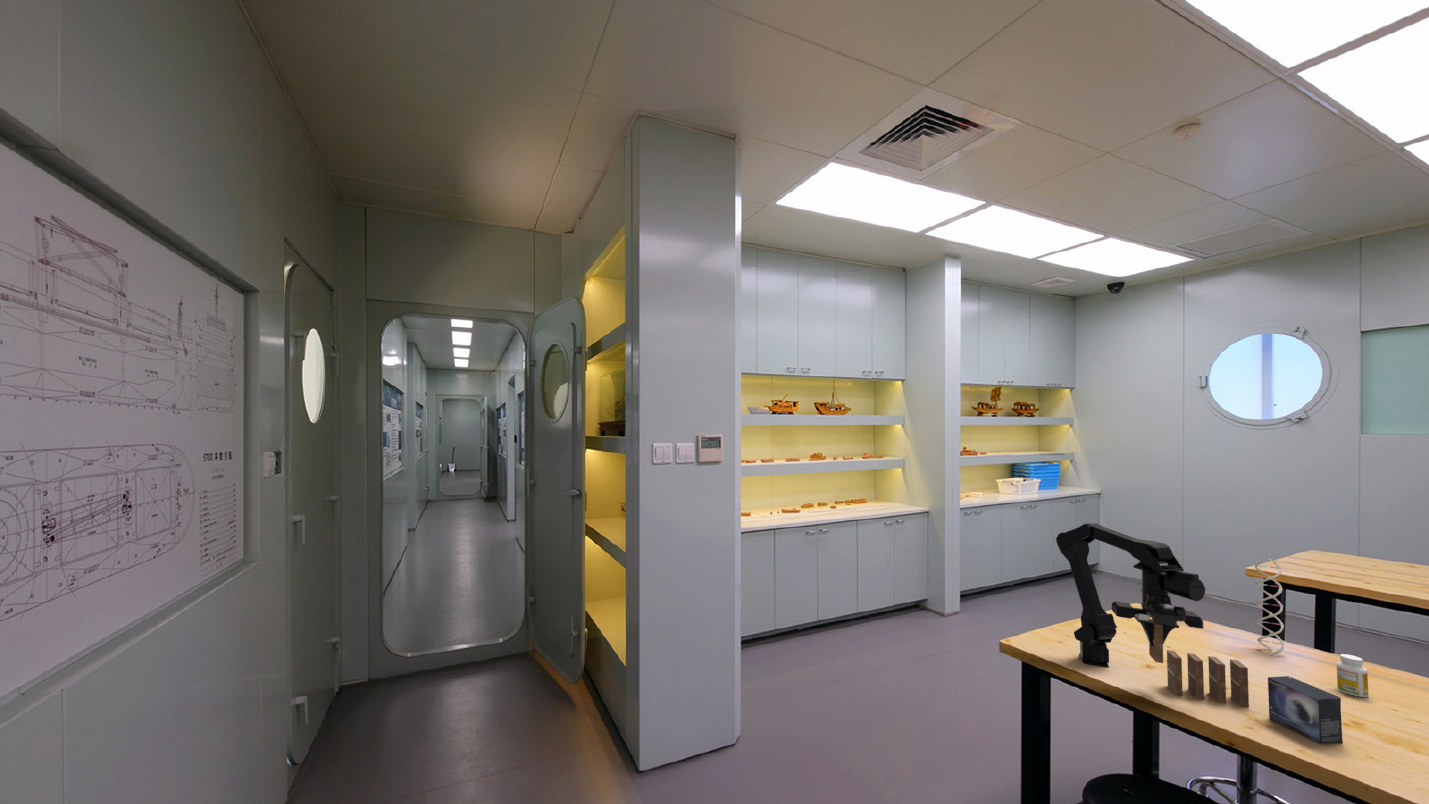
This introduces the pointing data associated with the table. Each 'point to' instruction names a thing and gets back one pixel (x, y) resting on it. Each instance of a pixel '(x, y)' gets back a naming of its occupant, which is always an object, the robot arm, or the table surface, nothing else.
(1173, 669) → the domino
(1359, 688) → the supplement bottle
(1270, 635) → the dna model
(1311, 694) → the small box
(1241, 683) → the domino
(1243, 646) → the table surface
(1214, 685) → the domino
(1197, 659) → the domino
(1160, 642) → the domino
